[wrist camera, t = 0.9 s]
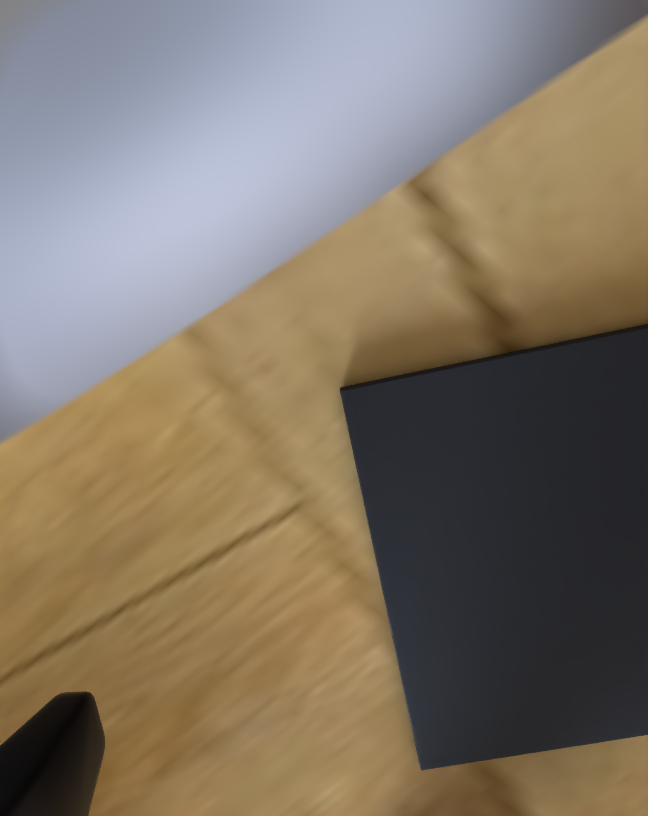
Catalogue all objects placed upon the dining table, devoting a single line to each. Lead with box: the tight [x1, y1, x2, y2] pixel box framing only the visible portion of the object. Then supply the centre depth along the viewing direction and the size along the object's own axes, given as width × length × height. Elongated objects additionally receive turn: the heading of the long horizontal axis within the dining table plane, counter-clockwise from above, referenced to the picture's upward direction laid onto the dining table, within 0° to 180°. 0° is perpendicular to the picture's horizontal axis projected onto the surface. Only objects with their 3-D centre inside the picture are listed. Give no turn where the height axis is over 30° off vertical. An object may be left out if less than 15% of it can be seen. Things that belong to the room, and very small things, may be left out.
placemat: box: [340, 324, 648, 770], centre depth 23 cm, size 18×21×1 cm
